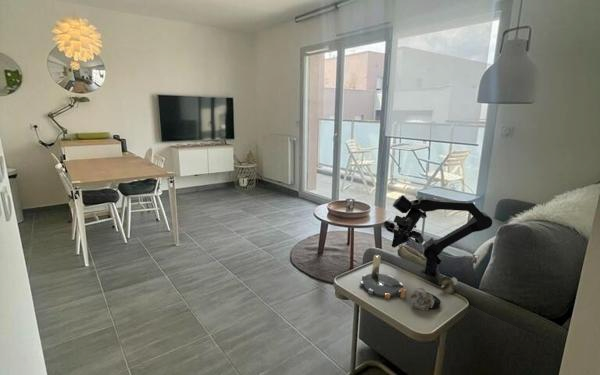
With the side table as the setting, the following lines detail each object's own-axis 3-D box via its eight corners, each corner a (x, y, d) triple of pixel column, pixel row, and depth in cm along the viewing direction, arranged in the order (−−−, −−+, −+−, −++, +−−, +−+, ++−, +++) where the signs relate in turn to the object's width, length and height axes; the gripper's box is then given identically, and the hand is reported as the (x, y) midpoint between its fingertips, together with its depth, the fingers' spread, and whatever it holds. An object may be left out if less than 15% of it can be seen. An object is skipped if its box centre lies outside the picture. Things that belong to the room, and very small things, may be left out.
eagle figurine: (434, 279, 144) (433, 285, 136) (446, 269, 142) (446, 273, 134) (448, 293, 141) (448, 299, 133) (461, 282, 139) (461, 288, 131)
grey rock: (434, 307, 130) (439, 318, 120) (406, 296, 132) (409, 306, 122) (440, 291, 129) (446, 302, 119) (412, 281, 131) (415, 290, 121)
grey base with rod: (373, 272, 148) (376, 250, 145) (409, 288, 136) (413, 264, 134) (351, 285, 135) (354, 261, 133) (389, 304, 124) (393, 277, 121)
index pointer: (400, 295, 131) (401, 287, 130) (405, 298, 130) (406, 290, 129) (398, 297, 130) (399, 289, 129) (403, 299, 128) (405, 291, 128)
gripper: (388, 203, 151) (369, 230, 147) (424, 215, 137) (404, 245, 133) (396, 217, 158) (378, 243, 154) (431, 230, 143) (413, 258, 139)
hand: (392, 246), depth 145 cm, fingers closed
